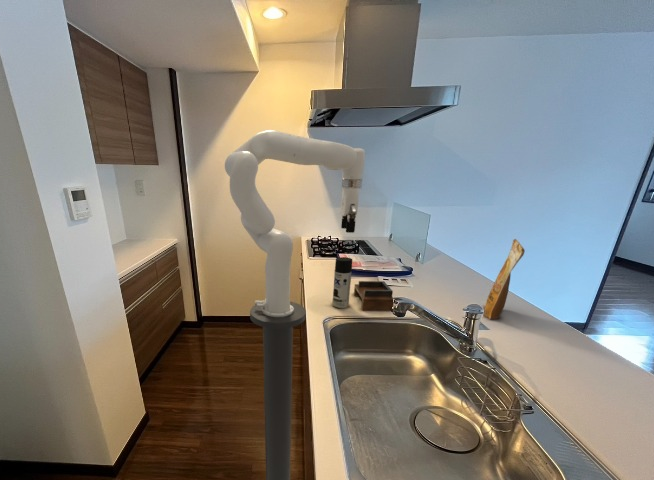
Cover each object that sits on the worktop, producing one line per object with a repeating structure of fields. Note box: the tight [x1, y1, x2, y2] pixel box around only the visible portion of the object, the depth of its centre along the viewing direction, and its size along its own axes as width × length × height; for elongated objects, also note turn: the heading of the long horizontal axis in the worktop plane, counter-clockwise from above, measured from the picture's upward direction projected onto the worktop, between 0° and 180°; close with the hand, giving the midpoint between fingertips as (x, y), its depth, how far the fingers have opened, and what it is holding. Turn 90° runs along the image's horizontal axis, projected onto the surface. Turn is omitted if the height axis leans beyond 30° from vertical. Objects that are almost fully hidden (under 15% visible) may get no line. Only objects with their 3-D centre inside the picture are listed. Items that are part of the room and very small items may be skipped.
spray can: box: [332, 256, 353, 309], centre depth 129 cm, size 7×7×20 cm
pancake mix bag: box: [484, 238, 525, 320], centre depth 119 cm, size 7×19×28 cm, turn 145°
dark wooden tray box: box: [353, 280, 395, 312], centre depth 135 cm, size 12×18×7 cm, turn 177°
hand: (347, 230), depth 126 cm, fingers open, 9 cm apart
